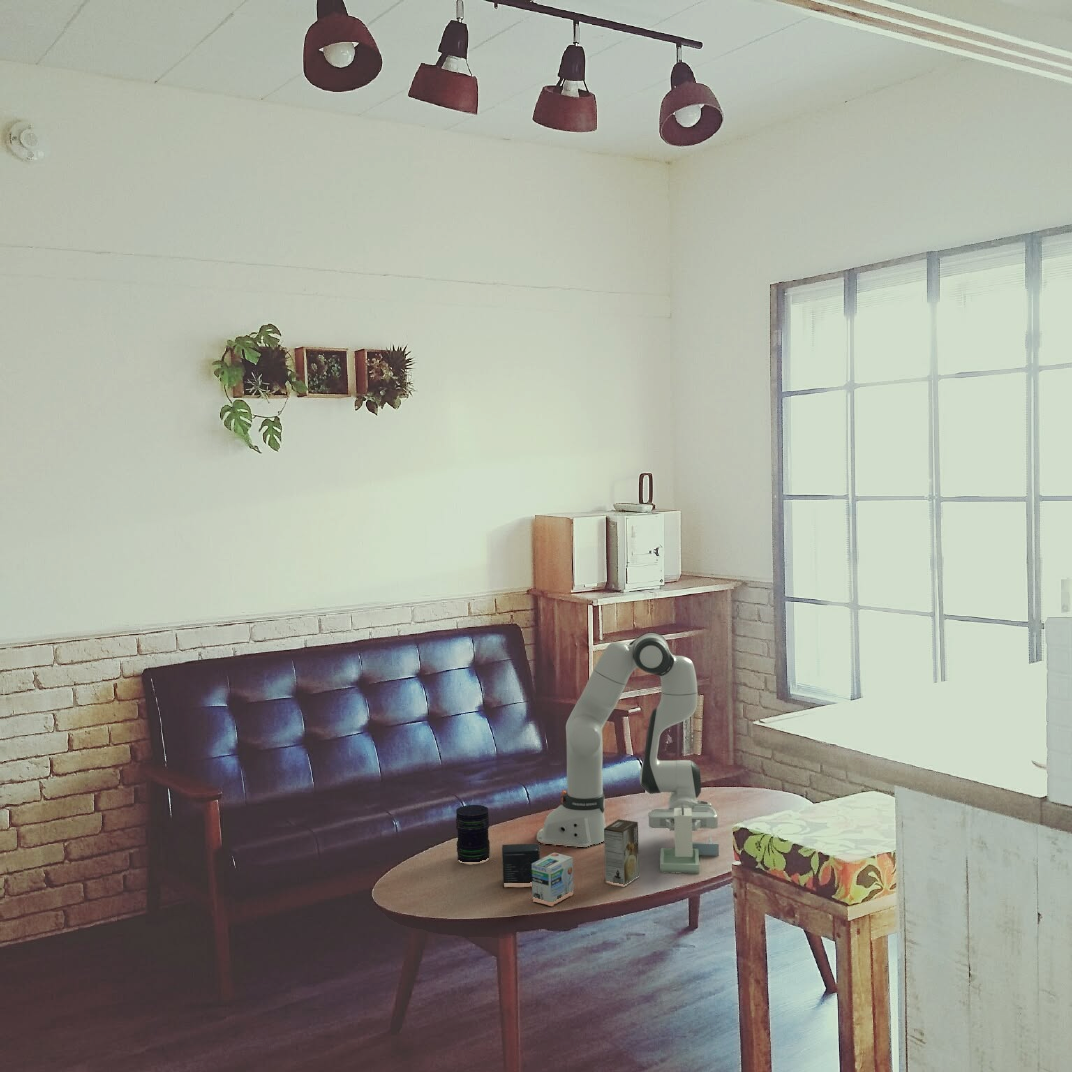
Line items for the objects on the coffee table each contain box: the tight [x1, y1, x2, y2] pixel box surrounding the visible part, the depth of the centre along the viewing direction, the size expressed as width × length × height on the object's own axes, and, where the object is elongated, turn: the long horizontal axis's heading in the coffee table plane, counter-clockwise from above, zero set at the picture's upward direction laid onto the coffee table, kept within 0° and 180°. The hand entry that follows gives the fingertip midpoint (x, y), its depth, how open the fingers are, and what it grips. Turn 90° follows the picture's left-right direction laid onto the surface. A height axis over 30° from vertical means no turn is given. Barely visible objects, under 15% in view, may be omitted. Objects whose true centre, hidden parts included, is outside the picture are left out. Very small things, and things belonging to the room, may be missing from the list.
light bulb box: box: [531, 852, 574, 902], centre depth 304 cm, size 11×7×11 cm, turn 143°
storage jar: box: [455, 804, 491, 862], centre depth 335 cm, size 10×10×15 cm
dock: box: [692, 835, 720, 857], centre depth 338 cm, size 11×8×4 cm
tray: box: [659, 847, 700, 874], centre depth 327 cm, size 11×13×2 cm
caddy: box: [674, 803, 693, 857], centre depth 326 cm, size 5×7×14 cm
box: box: [501, 842, 541, 884], centre depth 315 cm, size 11×7×10 cm, turn 91°
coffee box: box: [603, 818, 640, 885], centre depth 315 cm, size 9×6×16 cm
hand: (683, 828), depth 325 cm, fingers closed on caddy, 5 cm apart
